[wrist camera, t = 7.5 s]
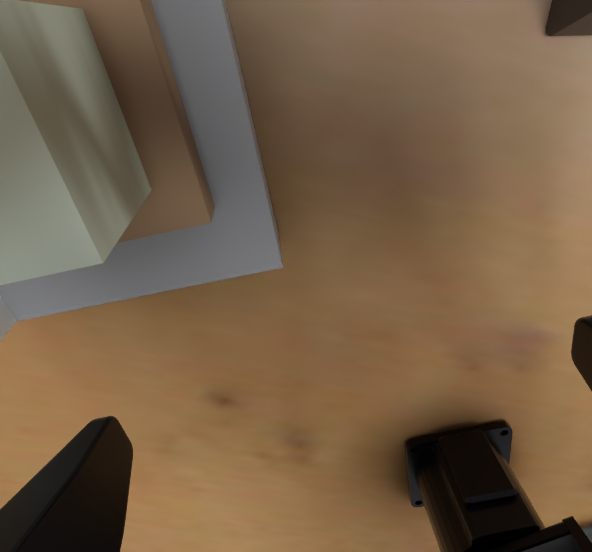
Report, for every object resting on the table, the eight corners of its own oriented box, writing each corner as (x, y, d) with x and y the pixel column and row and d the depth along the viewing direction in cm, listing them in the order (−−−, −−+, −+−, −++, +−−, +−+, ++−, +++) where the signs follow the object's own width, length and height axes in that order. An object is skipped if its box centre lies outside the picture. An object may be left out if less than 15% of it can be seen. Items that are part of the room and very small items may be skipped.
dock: (279, 241, 19) (285, 286, 16) (21, 293, 20) (-29, 350, 16) (181, -192, 12) (153, -278, 9) (-216, -101, 13) (-394, -151, 9)
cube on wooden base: (214, 206, 16) (191, 305, 10) (5, 252, 16) (-133, 373, 10) (130, -65, 12) (14, -153, 6) (-148, 1, 12) (-508, -26, 6)
